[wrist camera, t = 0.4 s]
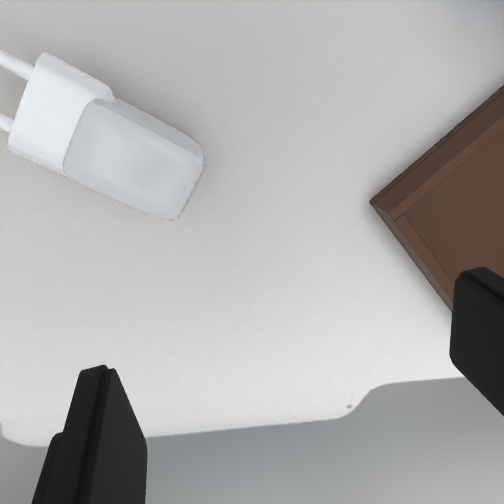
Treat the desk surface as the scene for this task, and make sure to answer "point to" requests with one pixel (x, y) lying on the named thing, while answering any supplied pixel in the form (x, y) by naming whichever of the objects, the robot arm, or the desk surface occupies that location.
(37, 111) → the power adapter
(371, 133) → the desk surface
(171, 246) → the desk surface
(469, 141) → the tray
